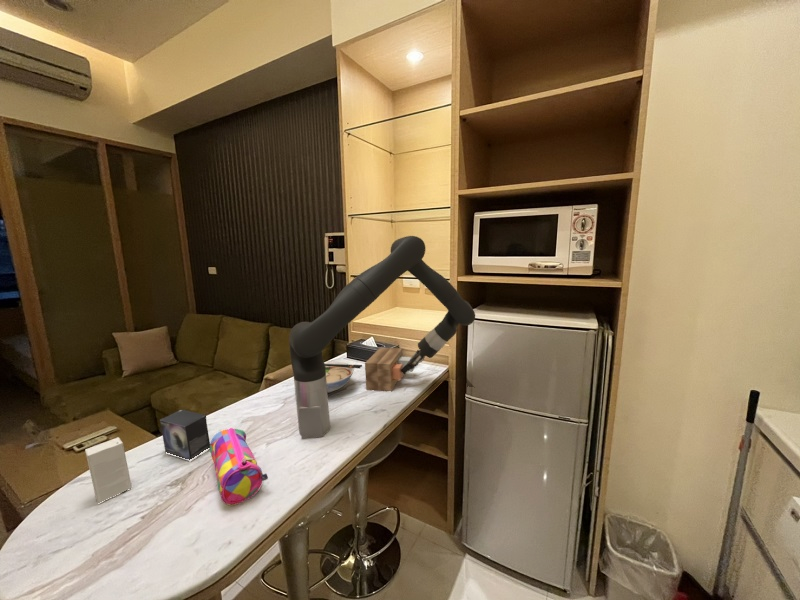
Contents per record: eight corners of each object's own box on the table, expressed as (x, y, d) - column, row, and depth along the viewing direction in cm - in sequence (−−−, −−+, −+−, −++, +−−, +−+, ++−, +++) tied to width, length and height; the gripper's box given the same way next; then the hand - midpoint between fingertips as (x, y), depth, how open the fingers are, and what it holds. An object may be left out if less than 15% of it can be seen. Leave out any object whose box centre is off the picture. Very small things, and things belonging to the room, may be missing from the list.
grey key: (396, 371, 132) (395, 359, 131) (399, 367, 136) (398, 355, 136) (412, 372, 130) (411, 360, 129) (414, 367, 135) (414, 356, 134)
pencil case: (271, 493, 71) (266, 457, 70) (224, 516, 65) (218, 477, 64) (247, 449, 88) (243, 419, 87) (208, 464, 82) (203, 432, 81)
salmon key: (383, 379, 124) (382, 367, 123) (386, 374, 128) (386, 362, 128) (400, 380, 122) (399, 368, 121) (403, 375, 127) (402, 363, 126)
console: (366, 390, 123) (364, 363, 121) (381, 371, 142) (380, 347, 140) (391, 391, 120) (389, 364, 119) (402, 372, 140) (401, 348, 138)
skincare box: (128, 481, 77) (119, 436, 75) (132, 489, 74) (123, 442, 72) (94, 496, 72) (84, 448, 70) (97, 505, 70) (87, 456, 68)
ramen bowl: (281, 399, 118) (278, 378, 116) (314, 376, 139) (313, 358, 138) (341, 406, 110) (339, 384, 109) (366, 380, 132) (365, 362, 131)
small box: (163, 455, 87) (157, 419, 85) (186, 441, 93) (181, 408, 91) (189, 463, 83) (183, 426, 81) (212, 448, 89) (207, 414, 87)
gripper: (428, 331, 126) (399, 359, 130) (422, 340, 113) (391, 371, 118) (441, 344, 125) (412, 372, 130) (437, 355, 113) (405, 385, 117)
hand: (402, 372), depth 124 cm, fingers closed
